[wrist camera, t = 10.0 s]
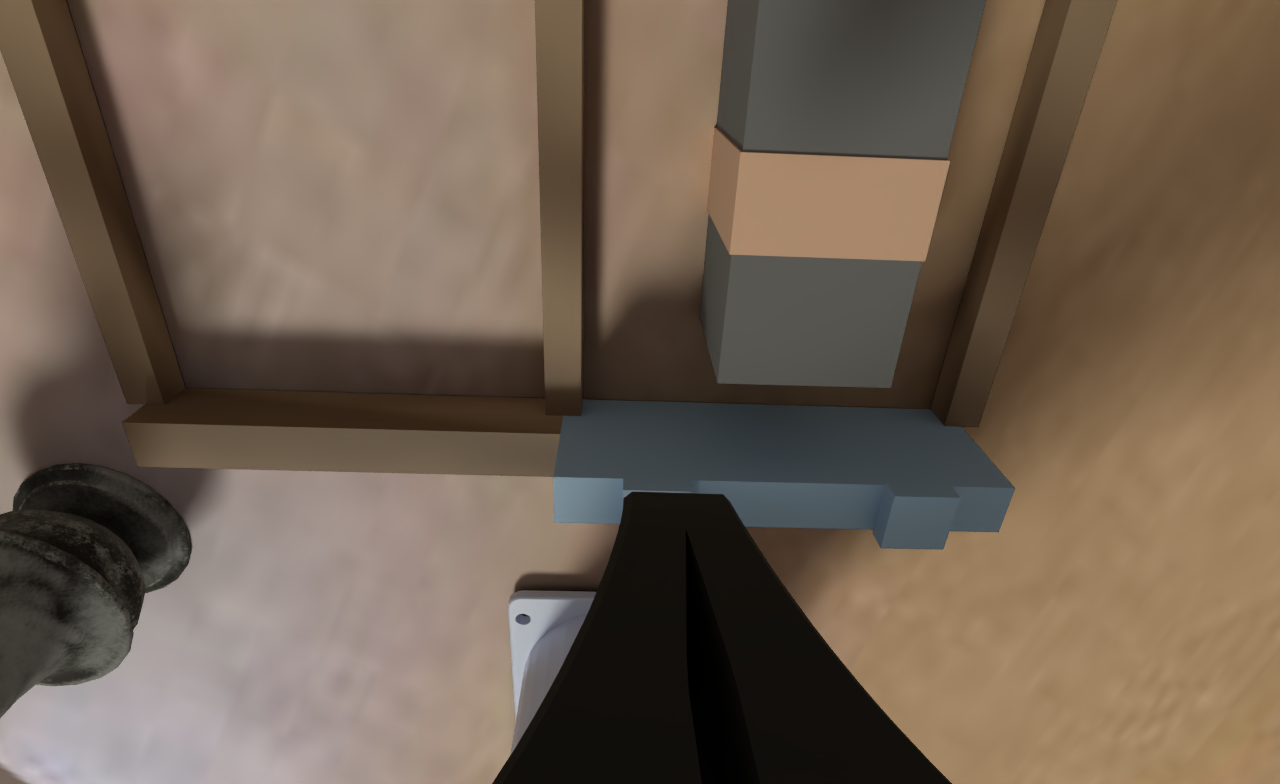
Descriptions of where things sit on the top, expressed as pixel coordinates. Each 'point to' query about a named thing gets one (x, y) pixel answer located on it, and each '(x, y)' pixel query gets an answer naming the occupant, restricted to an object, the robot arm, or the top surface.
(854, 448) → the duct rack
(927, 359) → the top surface
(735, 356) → the grey and tan block
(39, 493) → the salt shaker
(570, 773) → the robot arm
